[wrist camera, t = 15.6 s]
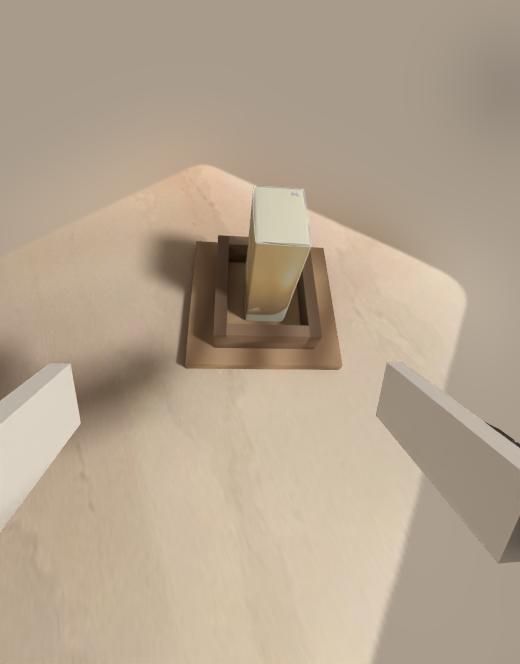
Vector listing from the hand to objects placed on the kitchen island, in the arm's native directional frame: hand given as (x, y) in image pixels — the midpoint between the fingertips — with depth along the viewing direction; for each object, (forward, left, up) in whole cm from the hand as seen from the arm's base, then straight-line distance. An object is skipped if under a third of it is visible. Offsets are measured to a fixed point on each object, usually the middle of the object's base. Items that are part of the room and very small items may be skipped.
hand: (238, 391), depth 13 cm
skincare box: (-2, +15, -16) cm, 22 cm away
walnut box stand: (-2, +15, -17) cm, 23 cm away
